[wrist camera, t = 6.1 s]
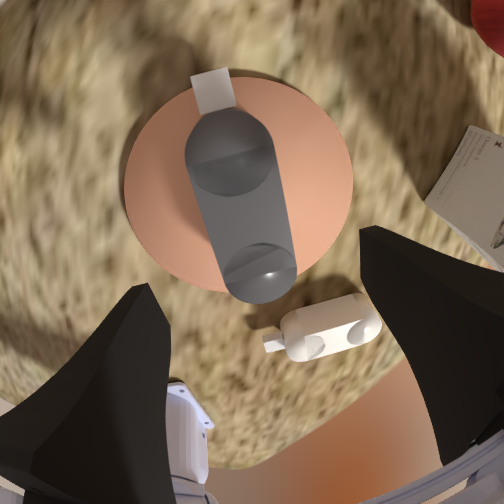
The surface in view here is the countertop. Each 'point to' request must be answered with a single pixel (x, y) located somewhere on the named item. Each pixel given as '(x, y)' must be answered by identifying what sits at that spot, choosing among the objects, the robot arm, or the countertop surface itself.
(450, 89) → the countertop surface
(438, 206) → the supplement box
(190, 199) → the coaster
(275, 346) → the white plug
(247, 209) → the charcoal plug
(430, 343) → the robot arm
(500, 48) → the onion
